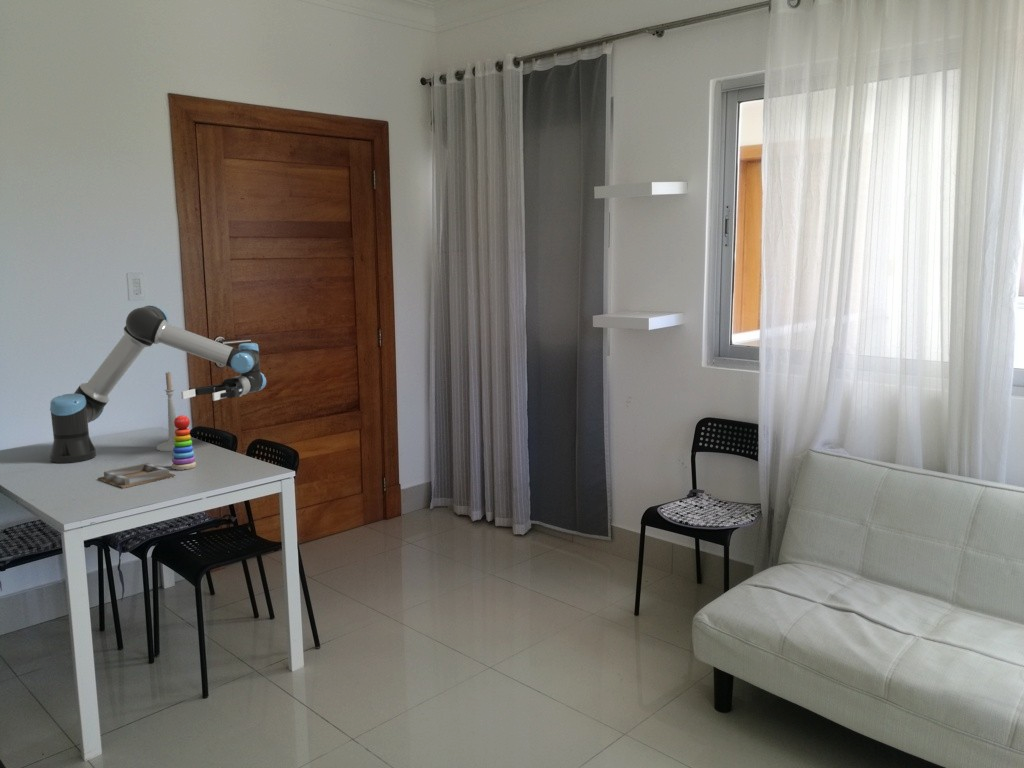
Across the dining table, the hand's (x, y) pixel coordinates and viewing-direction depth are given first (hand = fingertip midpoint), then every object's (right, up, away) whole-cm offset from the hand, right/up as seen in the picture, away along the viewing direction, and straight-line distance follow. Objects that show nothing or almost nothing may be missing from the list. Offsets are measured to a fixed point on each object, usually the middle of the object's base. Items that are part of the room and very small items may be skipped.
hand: (197, 396), depth 300 cm
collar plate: (-14, -27, -18) cm, 36 cm away
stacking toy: (-3, -25, -5) cm, 26 cm away
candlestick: (-19, -21, +26) cm, 39 cm away
